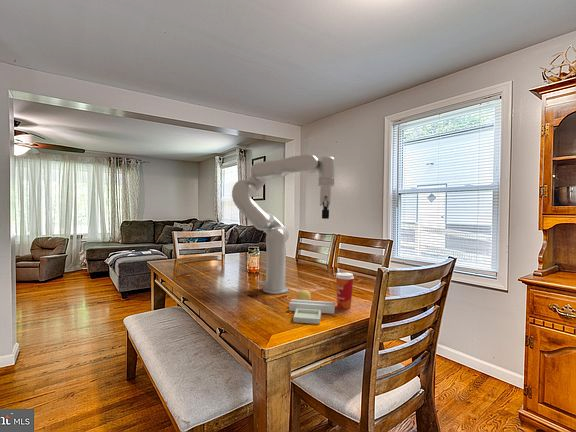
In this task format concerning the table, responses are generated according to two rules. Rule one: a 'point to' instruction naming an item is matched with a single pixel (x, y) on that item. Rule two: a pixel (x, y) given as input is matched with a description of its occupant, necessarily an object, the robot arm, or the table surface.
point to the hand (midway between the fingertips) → (325, 218)
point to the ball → (304, 295)
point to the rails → (312, 305)
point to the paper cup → (344, 290)
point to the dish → (307, 316)
